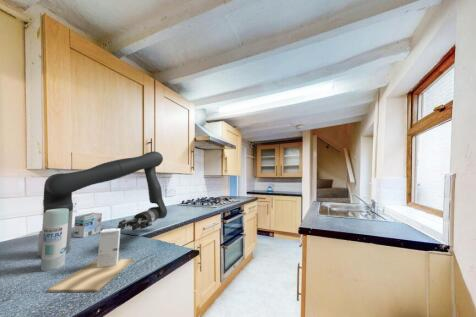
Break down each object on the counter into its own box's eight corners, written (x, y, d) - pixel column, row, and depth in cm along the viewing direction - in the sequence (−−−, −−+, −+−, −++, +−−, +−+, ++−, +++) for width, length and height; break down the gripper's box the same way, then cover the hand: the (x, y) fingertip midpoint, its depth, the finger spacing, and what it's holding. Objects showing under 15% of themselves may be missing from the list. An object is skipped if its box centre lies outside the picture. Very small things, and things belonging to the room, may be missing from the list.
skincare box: (96, 268, 68) (98, 232, 69) (99, 263, 72) (101, 229, 73) (117, 265, 71) (119, 230, 72) (119, 260, 75) (120, 227, 76)
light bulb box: (83, 238, 102) (84, 216, 103) (72, 237, 103) (74, 216, 104) (101, 232, 113) (102, 212, 113) (91, 231, 114) (92, 212, 115)
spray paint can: (68, 261, 74) (72, 207, 76) (59, 269, 68) (64, 210, 70) (46, 264, 72) (50, 208, 74) (35, 272, 66) (40, 212, 68)
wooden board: (46, 291, 55) (47, 289, 56) (96, 260, 75) (96, 259, 75) (97, 291, 56) (97, 289, 56) (133, 260, 76) (133, 259, 76)
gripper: (130, 211, 100) (109, 218, 83) (159, 211, 100) (143, 219, 83) (129, 226, 99) (108, 237, 82) (158, 226, 99) (142, 237, 82)
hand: (125, 228), depth 83 cm, fingers open, 5 cm apart
